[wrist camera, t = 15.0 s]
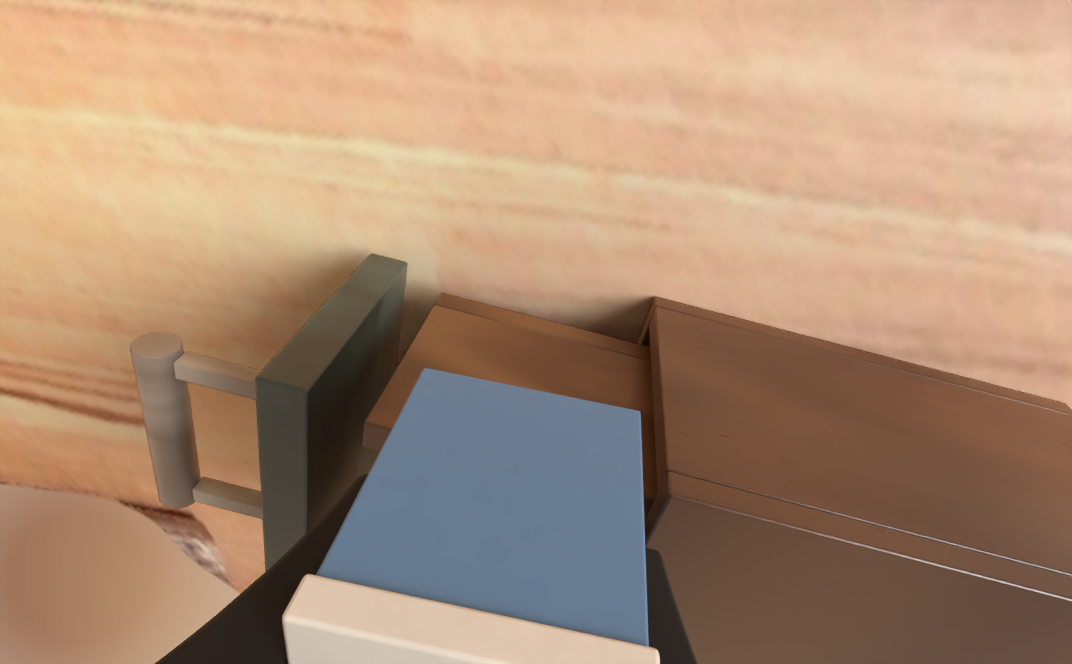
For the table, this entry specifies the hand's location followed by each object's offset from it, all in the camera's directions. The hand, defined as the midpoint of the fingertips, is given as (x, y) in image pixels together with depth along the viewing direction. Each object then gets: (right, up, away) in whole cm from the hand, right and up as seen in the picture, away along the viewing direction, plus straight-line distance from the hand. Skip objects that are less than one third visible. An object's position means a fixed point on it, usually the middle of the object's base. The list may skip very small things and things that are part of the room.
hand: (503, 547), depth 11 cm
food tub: (0, +1, +1) cm, 1 cm away
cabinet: (+10, -1, +11) cm, 15 cm away
